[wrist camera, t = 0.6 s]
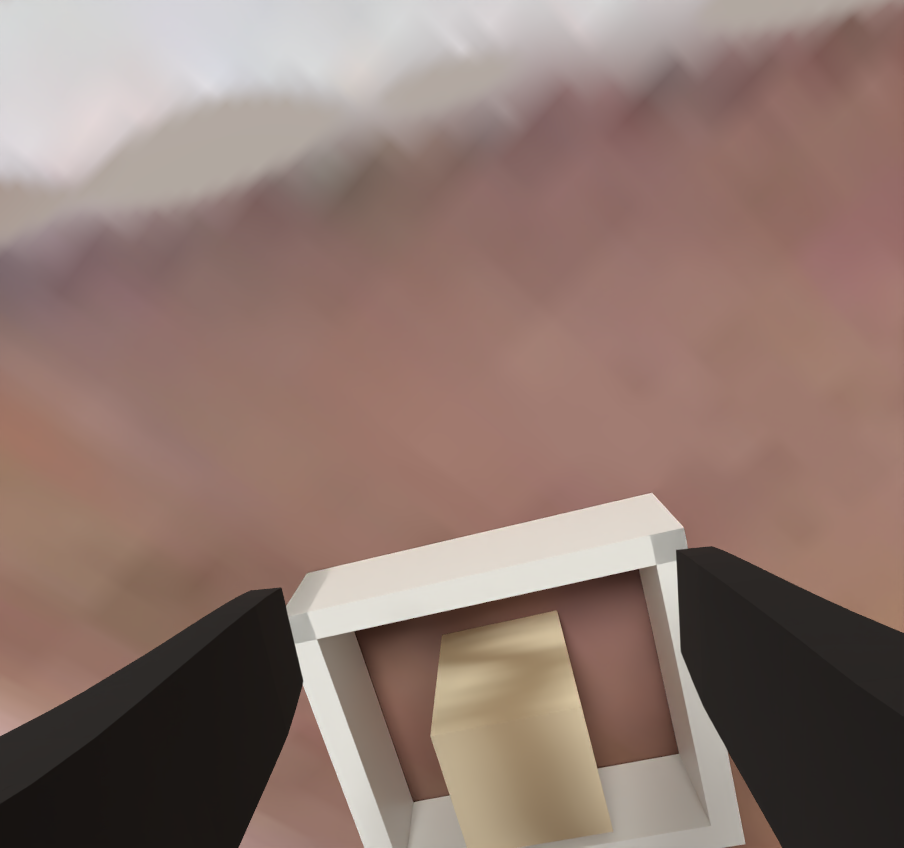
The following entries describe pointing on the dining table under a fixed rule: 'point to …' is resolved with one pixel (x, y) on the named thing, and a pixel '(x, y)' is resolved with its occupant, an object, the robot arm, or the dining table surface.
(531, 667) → the wood block
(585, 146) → the dining table surface
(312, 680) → the box
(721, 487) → the dining table surface
